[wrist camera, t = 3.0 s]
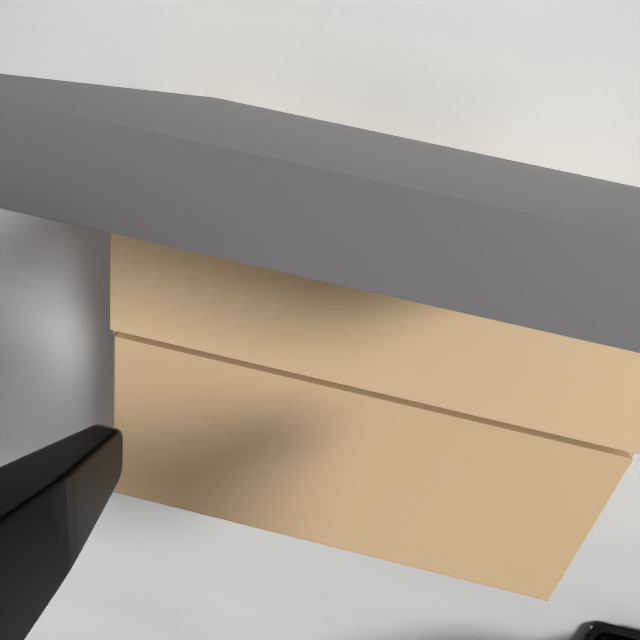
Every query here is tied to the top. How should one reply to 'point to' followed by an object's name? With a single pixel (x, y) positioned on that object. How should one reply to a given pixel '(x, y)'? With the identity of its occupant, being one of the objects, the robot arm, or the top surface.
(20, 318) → the top surface
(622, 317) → the carton flap
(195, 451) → the carton
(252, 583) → the top surface
